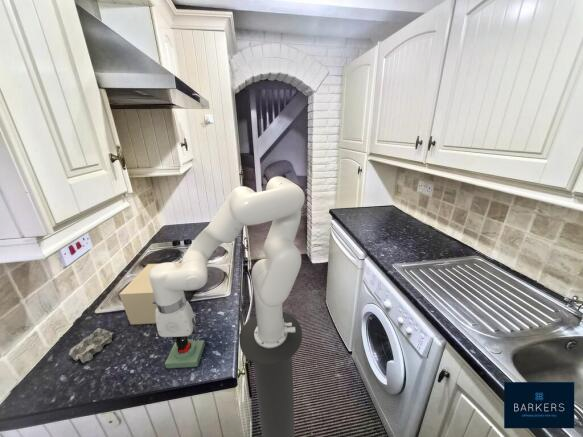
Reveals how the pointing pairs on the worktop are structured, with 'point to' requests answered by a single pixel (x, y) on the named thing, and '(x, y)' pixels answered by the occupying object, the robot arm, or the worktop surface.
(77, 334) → the worktop surface
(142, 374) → the worktop surface
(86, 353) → the egg carton
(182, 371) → the worktop surface
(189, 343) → the button
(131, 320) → the oven
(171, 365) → the control block
